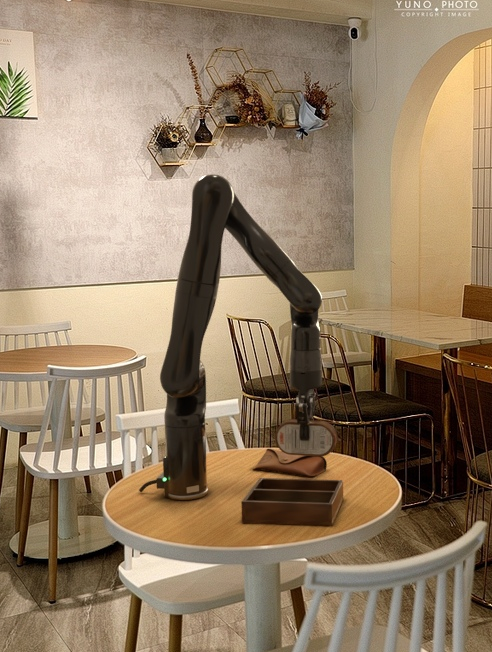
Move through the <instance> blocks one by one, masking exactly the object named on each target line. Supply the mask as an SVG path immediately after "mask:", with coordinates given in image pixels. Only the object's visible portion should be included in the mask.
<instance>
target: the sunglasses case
mask: <svg viewBox="0 0 492 652" xmlns="http://www.w3.org/2000/svg"><path fill="white" fill-rule="evenodd" d="M327 464H328V463H327V460H326V457H325V456H322V457H317V456H303V455H289V454H286V453H284V452H282V451H281V450H277V449H276V450H275V449H272V448H267V449H266V450H265V452H264V453H263V455H262V457H261V458H260V460H259V461H258V462H257V464H256V465H255V466H254V467H253V468H252V470H257V471H266V472H270V473H271V472H272V473H279V474H284V475H289V476H290V475H291V476H299V477H315V476H318V475H320V474H323V473H324V472H326V470H327V467H328V465H327Z"/></svg>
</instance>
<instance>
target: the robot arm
mask: <svg viewBox="0 0 492 652" xmlns="http://www.w3.org/2000/svg"><path fill="white" fill-rule="evenodd" d="M190 214H191V216H190V226H189V232H188V233H189V234H188V238H187V242H186V245H185V248H184V251H183V255H182V259H181V262H180V267H179V271H178V276H177V280H176V281H177V282H176V287H175V293H174V302H173V309H172V316H171V318H172V319H171V328H170V337H169V340H168V345H167V349H166V352H165V357H164V359H163V363H162V365H161V370H160V373H159V381H160V385H161V388H162V390H163V391H164V393H165V394H166V406H165V410H164V413H163V414H164V415H163V416H164V419H163V420H164V441H165V443H164V444H165V456H164V457H162V470H163V472H162V473H160V474H159V475H158V476H157V477H156V479H153V480H149V481H147V482H145V483H144V484H143V485H141V487H140V488H139V489H138V491H139V493H143V492H144V490H145V489H146V488H147V487H149V486H151V485H155V484H156V490H157V489H158V490H163V497H164V498H167V499H171V500H175V501H192V500H197V499H200V498H203V497H205V496H206V495H208V493H209V487H208V474H207V473H208V472H207V471H208V470H207V469H208V467H207V466H208V465H207V442H206V439H207V438H206V437H207V436H206V410H207V376H206V375H207V374H206V369H205V368H206V367H205V366H204V363H203V361H202V360H201V354H202V346H203V342H204V338H205V335H206V332H207V329H208V326H209V325H210V321H211V319H212V316H213V314H214V313H213V312H214V309H215V306H216V302H217V298H218V292H219V287H220V279H221V269H222V245H223V237H224V233H225V229H226V231H227V232H228V233H229V234H230V235H231V236H232V237H233V238H234V239H235V240H236V242H237V243H238V244H239V246H240V247H241V248H242V249H243V251H244V252H245V254H246V255H247V256H248V257H249V259H250V260H251V261H252V263H253V264H254V265H255V266H256V267H257V268H258V270H259V271H260V272H261V273H262V274H263V275H264V276H265V277H266V279H268V280H269V282H270V283H272V284H273V285H274V286H275V287H276V288H277V289H278V290H279V291H280V292H281V294H282V295H283V296H284V297H285V299H286V300H287V301H288V302H289V313H290V323H291V326H290V327H291V329H290V355H289V386H290V388H292V389H294V390H298V395H296V396H295V404H294V406H295V415H296V419H297V424H299V425H300V440H302V441H308V440H309V438H310V420H313V421H314V417H315V413H316V411H315V409H316V396H317V392H315V391H314V390H317V389H320V388H321V387H322V386H323V385H322V384H323V370H322V369H323V358H322V348H321V347H322V344H321V342H322V341H321V340H322V339H321V338H322V337H321V336H322V335H321V327H320V324H319V309H320V308H321V306H322V304H323V296H322V293H321V291H320V290H319V288H318V287H317V286H316V285H315V284H314V283H313V282H312V281H311V280H310V279H309V277H307V276H306V275H305V274H304V272H302V271H301V270H300V269H299V268H298V266H297V264H295V262H294V261H293V260H292V258H291V257H290V256H289V254H287V253H286V252H285V251H284V249H283V248H282V247H281V246H280V245H279V244H278V243H277V242H276V241H275V240H274V239H273V238H272V237H271V235H269V233H267V231H266V230H264V229H263V228H262V227H261V226H260V225H259V224H258V222H257V221H256V220H255V219H254V218H253V217H252V216H251V215H250V213H249V212H248V210H247V209H246V207H244V205H243V204H242V202H241V201H240V199H239V197H238V195H237V194H236V193H235V191H234V188H233V185H232V184H231V182H230V181H229V180H228V179H227V178H225V177H224V176H223V175H219V174H216V173H215V174H205V175H203V176H201V177H200V178H199V179H198V180H196V182H194V185H193V187H192V192H191V213H190Z"/></svg>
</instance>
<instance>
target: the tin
mask: <svg viewBox="0 0 492 652" xmlns="http://www.w3.org/2000/svg"><path fill="white" fill-rule="evenodd" d="M274 440H275V445H276V446H277V448H278V449H279V451H282V452H284V453H286V454H289V455H303V456H317V457H325V456H328V455H330V453H332V452H333V451H334V450H335V449H336V447H337V446H338V440H339V437H338V433H337V431H336V428H335V427H334V426H333V425H332V424H330V423H329V422H327V421H324V420H314V419H313V420H310V438H309V440H308V441H302V440H300V425H299V424H297V418H296V419H295V418H290V419H287V420H284V421H283V422H282V423H280V425H279V426H278V427H277V429H276V431H275V432H274Z"/></svg>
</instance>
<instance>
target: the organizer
mask: <svg viewBox="0 0 492 652" xmlns="http://www.w3.org/2000/svg"><path fill="white" fill-rule="evenodd" d="M343 502H344V480H342V479H311V478H309V479H308V478H279V477H278V478H275V477H259V478H258V479H257V481H255V483H254V485H252V487H251V489H249V491H248V492H247V494H246V495H245V496H244V498H243V499H242V500H241V503H240V504H241V505H240V506H241V524H260V525H261V524H265V525H292V526H294V525H297V526H327V527H333V525H334V523H335V521H336V518H337V516H338V514H339V511H340V509H341V506H342V504H343Z"/></svg>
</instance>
